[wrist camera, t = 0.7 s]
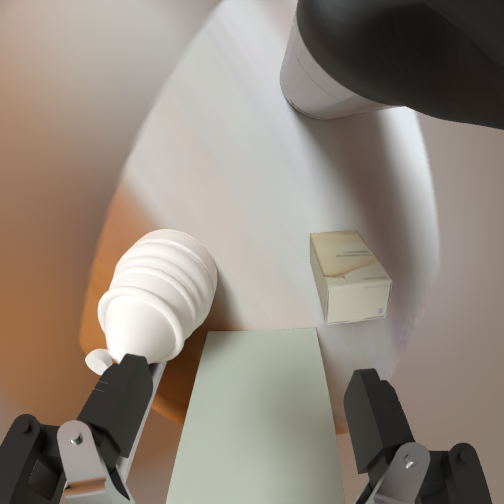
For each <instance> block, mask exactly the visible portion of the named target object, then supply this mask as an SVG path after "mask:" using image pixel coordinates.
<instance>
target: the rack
mask: <svg viewBox="0 0 504 504" xmlns="http://www.w3.org/2000/svg"><path fill="white" fill-rule="evenodd" d="M166 504H345V497H344V488H343V480H342V474H341V466H340V459H339V452H338V445H337V439H336V432H335V426H334V420H333V414H332V409H331V403H330V398H329V392H328V387H327V381H326V376H325V371H324V366H323V361H322V356H321V351H320V347H319V342H318V337H317V332H316V328H303V329H286V330H261V331H208V333H207V337H206V341H205V345H204V348H203V352H202V356H201V360H200V364H199V367H198V371H197V375H196V379H195V383H194V387H193V391H192V395H191V399H190V403H189V407H188V411H187V415H186V419H185V423H184V427H183V431H182V435H181V440H180V444H179V448H178V452H177V456H176V461H175V465H174V469H173V474H172V478H171V483H170V487H169V492H168V496H167V501H166Z"/></svg>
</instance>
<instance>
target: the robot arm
mask: <svg viewBox="0 0 504 504" xmlns="http://www.w3.org/2000/svg"><path fill="white" fill-rule="evenodd" d="M280 85H281V89H282V92H283V94H284V96H285V98H286V99H287V101H288V102H289V103H290V104H291V105H292V106H293V107H294V108H295V109H296V110H297V111H299V112H301V113H302V114H304V115H306V116H309V117H311V118H316V119H325V120H329V119H334V118H339V117H345V116H350V115H355V114H360V113H365V112H371V111H377V110H383V109H388V108H395V107H402V106H406V107H409V108H411V109H413V110H416V111H418V112H421V113H423V114H426V115H429V116H432V117H435V118H438V119H443V120H448V121H454V122H460V123H469V124H475V125H481V126H487V127H492V128H497V129H502V130H504V0H298V4H297V7H296V11H295V15H294V19H293V24H292V28H291V32H290V36H289V40H288V44H287V48H286V52H285V56H284V60H283V63H282V67H281V72H280ZM152 393H153V380H152V377H151V373H150V370H149V366H148V363H147V359H146V357H144V356H140V355H134V354H129V353H126V354H125V355H124V357H123V358H122V360H121V362H120V364H116V363H114V364H112V365H111V366H110V367H109V368H107V369H106V370H105V371H104V372H103V374H102V376H101V378H100V379H99V382H98V383H97V384H96V386H95V389H94V390H93V391H92V393H91V395H90V396H89V398H88V400H87V402H86V404H85V405H84V407H83V409H82V411H81V413H80V414H79V416H78V418H77V419H76V420H73V421H68V422H66V423H64V424H63V425H62V426H51V425H44V424H40V423H39V421H38V420H37V419H36V418H35V417H34V416H32V415H30V414H23V415H20V416H18V417H17V418H16V419H15V420H14V422H13V424H12V425H11V427H10V429H9V431H8V433H7V435H6V437H5V438H4V441H3V443H2V445H1V446H0V504H59V502H60V499H61V496H62V493H63V490H64V496H65V499H66V502H67V504H135V502H134V500H133V498H132V496H131V494H130V492H129V490H128V488H127V486H126V484H125V481H124V479H123V477H122V475H121V472H120V470H119V467H118V465H117V463H116V462H117V459H118V457H119V456H121V457H125V458H129V455H130V452H131V449H132V447H133V444H134V441H135V438H136V436H137V433H138V430H139V428H140V425H141V422H142V420H143V417H144V415H145V412H146V409H147V407H148V404H149V402H150V399H151V397H152ZM344 409H345V413H346V418H347V422H348V427H349V431H350V435H351V440H352V445H353V450H354V454H355V459H356V465H357V469H358V474H362V473H368V475H369V479H368V480H367V482H366V483H365V485H364V487H363V488H362V490H361V492H360V493H359V495H358V496H357V498H356V499H355V501H354V502H353V504H413V503H414V502H415V504H492V501H491V497H490V493H489V490H488V486H487V483H486V480H485V476H484V473H483V471H482V467H481V465H480V461H479V459H478V456H477V453H476V451H475V449H474V448H473V447H472V446H471V445H470V444H467V443H459V444H456V445H455V446H454V447H453V448H452V449H451V450H450V451H429V450H427V448H426V447H425V446H423V445H422V444H420V443H416V442H415V440H414V438H413V435H412V433H411V430H410V427H409V425H408V422H407V419H406V417H405V414H404V412H403V410H402V407H401V404H400V402H399V401H398V397H397V394H396V392H395V390H394V388H393V387H392V386H391V385H390V384H389V383H388V382H387V381H386V380H381V381H380V378H379V376H378V373H377V371H376V370H375V369H374V368H372V369H359V370H355V371H354V373H353V376H352V378H351V381H350V383H349V385H348V388H347V390H346V392H345V396H344ZM36 461H37V462H36ZM34 466H35V467H34ZM33 468H34V469H33ZM32 471H33V472H32ZM31 473H32V474H31ZM30 476H31V477H30ZM29 478H30V479H29ZM66 481H67V482H68V487H66V488H65V489H64V487H65V484H66Z"/></svg>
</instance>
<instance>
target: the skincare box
mask: <svg viewBox="0 0 504 504" xmlns="http://www.w3.org/2000/svg"><path fill="white" fill-rule="evenodd" d="M310 263H311V267H312V271H313V275H314V278H315V282H316V286H317V290H318V294H319V298H320V302H321V306H322V310H323V314H324V318H325V323H326V324H327V325H330V324H340V323H349V322H358V321H365V320H371V319H378V318H385V317H386V316H387V312H388V307H389V302H390V296H391V290H392V282H393V281H392V279H391V278H390V276H389V275H388V273H387V272H386V270H385V269H384V268H383V266H382V265H381V263H380V262H379V261H378V259H377V258H376V256H375V255H374V254H373V252H372V251H371V249H370V248H369V247H368V245H367V244H366V243H365V241H364V240H363V239H362V238H361V236H360V235H359V234H358V232H357V231H339V232H323V233H311V234H310Z"/></svg>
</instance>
